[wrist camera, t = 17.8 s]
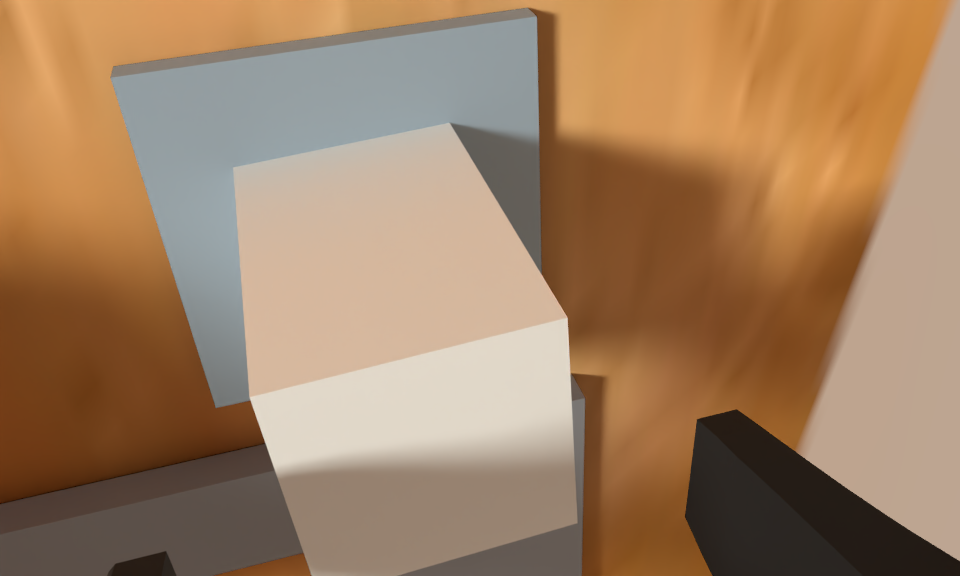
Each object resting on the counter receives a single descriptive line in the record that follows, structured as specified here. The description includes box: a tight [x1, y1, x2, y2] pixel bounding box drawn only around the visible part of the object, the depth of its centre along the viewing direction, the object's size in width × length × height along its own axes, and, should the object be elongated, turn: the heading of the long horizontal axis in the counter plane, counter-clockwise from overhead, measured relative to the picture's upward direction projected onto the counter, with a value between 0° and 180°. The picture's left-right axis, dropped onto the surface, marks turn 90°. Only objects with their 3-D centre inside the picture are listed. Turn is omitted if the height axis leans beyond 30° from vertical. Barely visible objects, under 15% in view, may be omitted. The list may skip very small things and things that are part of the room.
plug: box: [233, 123, 578, 576], centre depth 16 cm, size 4×4×7 cm
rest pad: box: [111, 8, 542, 408], centre depth 18 cm, size 8×8×1 cm
